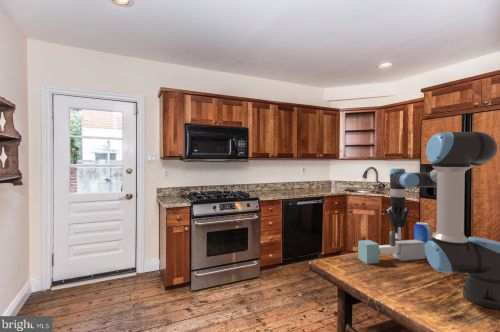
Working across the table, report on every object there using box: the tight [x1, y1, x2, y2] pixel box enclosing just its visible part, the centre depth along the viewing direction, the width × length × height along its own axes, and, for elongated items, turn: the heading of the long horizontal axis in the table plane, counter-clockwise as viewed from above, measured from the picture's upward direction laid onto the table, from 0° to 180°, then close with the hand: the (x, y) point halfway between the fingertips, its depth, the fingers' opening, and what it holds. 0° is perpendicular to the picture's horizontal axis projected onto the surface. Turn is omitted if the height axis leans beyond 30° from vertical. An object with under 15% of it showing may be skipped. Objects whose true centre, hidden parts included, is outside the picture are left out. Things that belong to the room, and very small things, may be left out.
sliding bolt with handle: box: [379, 230, 400, 255], centre depth 151 cm, size 4×24×11 cm, turn 100°
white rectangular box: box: [392, 239, 426, 261], centre depth 152 cm, size 7×15×9 cm, turn 100°
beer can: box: [413, 221, 432, 244], centre depth 166 cm, size 8×8×16 cm
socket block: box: [357, 239, 380, 265], centre depth 148 cm, size 8×7×10 cm
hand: (398, 238), depth 151 cm, fingers closed
